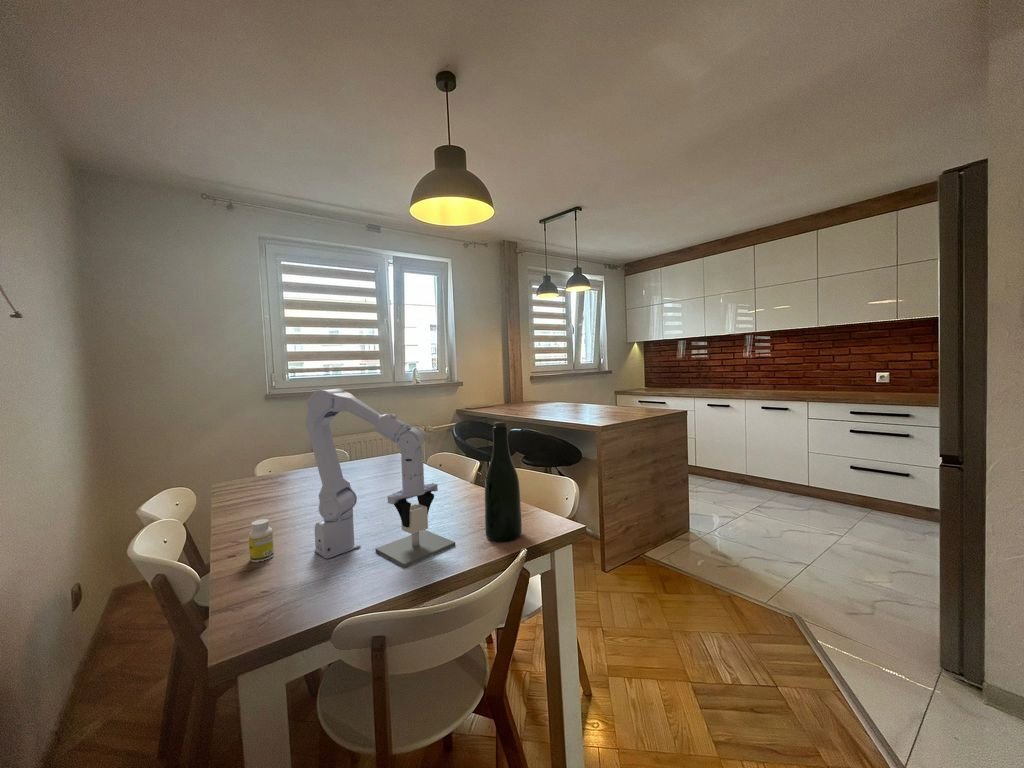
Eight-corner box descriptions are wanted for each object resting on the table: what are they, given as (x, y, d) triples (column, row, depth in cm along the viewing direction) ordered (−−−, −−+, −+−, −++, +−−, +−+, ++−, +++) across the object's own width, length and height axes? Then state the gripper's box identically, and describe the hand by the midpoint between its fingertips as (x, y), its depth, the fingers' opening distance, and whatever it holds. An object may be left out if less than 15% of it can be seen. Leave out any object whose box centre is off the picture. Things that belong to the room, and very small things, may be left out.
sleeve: (412, 534, 105) (411, 511, 105) (401, 529, 109) (400, 507, 108) (428, 528, 109) (427, 506, 109) (417, 524, 112) (416, 503, 112)
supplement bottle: (252, 555, 108) (251, 519, 108) (275, 552, 110) (274, 516, 110) (247, 564, 103) (245, 526, 103) (271, 560, 105) (269, 523, 105)
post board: (404, 567, 98) (403, 543, 98) (375, 552, 108) (374, 530, 107) (455, 545, 110) (454, 524, 110) (425, 533, 119) (424, 513, 119)
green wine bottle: (528, 537, 114) (525, 422, 113) (495, 546, 108) (491, 425, 107) (510, 526, 123) (507, 418, 122) (479, 534, 118) (475, 421, 117)
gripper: (397, 481, 100) (399, 535, 101) (443, 470, 111) (445, 518, 111) (382, 477, 105) (384, 528, 105) (428, 466, 116) (430, 513, 116)
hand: (414, 523), depth 109 cm, fingers closed on sleeve, 5 cm apart
